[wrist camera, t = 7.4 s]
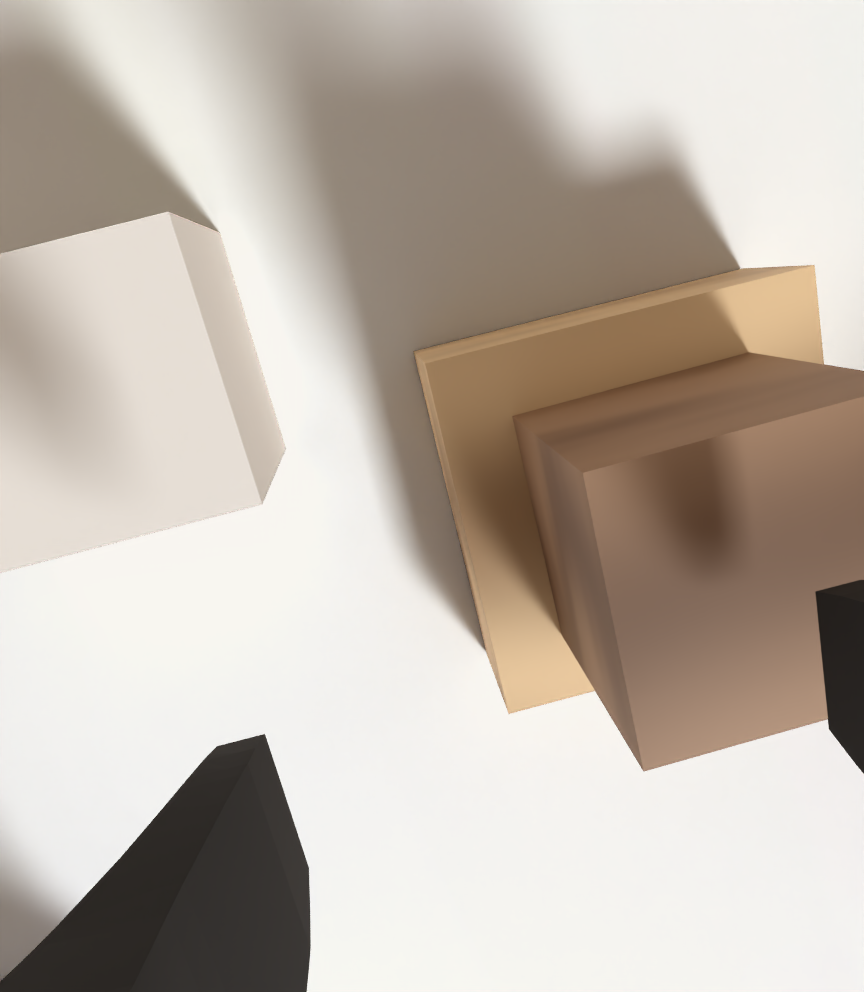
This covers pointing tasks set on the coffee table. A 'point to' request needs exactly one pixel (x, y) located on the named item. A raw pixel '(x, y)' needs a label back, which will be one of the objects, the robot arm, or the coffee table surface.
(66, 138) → the coffee table surface
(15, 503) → the grey cube
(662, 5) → the coffee table surface
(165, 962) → the robot arm
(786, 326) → the oak base
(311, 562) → the coffee table surface
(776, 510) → the walnut cube
